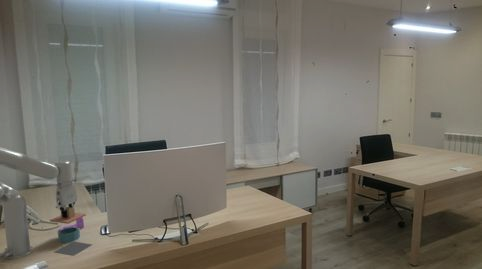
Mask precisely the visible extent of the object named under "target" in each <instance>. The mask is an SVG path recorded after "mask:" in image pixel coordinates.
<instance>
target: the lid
mask: <svg viewBox="0 0 482 269" xmlns="http://www.w3.org/2000/svg"><path fill="white" fill-rule="evenodd" d="M66 210H67V218H64V217H62V211H61V210H60V215H59V216H56V217H53V218H51V219H49V222H51V223H52V222H53V223H60V224H67V225H69V224H71V223H73V222H76V220H77V219H79V218H81V217H83V218H84V217H86V216H87V214H86V213H80V212H75V207H69V206H66Z"/></svg>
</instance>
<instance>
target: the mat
mask: <svg viewBox="0 0 482 269" xmlns="http://www.w3.org/2000/svg"><path fill="white" fill-rule="evenodd" d="M92 246H93V244H91V243H85V242H79V241H72V242H69V243H68V244H65V246H62V247H61V248H59V249H57V250H55V251H53V253H55V254H61V255H67V256H71V257H72V256H73V257H74V256H76V255H78V254H79V253H81V252H83V251H84V250H86V249H88V248H89V247H92Z"/></svg>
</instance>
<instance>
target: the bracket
mask: <svg viewBox="0 0 482 269" xmlns="http://www.w3.org/2000/svg"><path fill="white" fill-rule="evenodd" d="M75 222H76V223H75V224H71V225H65V226H61V227H59V228H58V230H59V231H60V230H62V229H64V228H68V227H78V228H82V229H84V228H85V224H84V217H81V218H79V219H77V220H75ZM83 227H84V228H83ZM59 231H58V232H59Z"/></svg>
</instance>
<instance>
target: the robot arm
mask: <svg viewBox="0 0 482 269" xmlns="http://www.w3.org/2000/svg"><path fill="white" fill-rule="evenodd" d="M0 166H1V167H5V168H9V169H11V170H15V171H17V172H22V173H25V174H28V175H32V176H35V177H38V178H42V179H46V180H54V179H55V180H56V184H55V186H56V188H55V189H56V191H55V200H56V202H55V203H56V205H55V209H57V210H60V212H61V211H62V217H64V218H67V210H66V207H73V208H75V204H76V202H77V201H78V196H77V191H76V187H75V184H74V183H73V174H72V164H71V162H70V160H60V161H55V162H54V161H53V162H52V161H51V162H49V161H48V162H44V161H41V160H38V159H35V158H34V157H31V156H29V155H27V154H25V153H22V152H19V151H17V150H16V151H15V150H12V149H10V148H6V147H4V146H0ZM27 204H28V202H27V199H26V197H25V196H24V195H23V194H22V193H21V192H20V191H19V190H17V189H15V188H13V187H10V186H9V185H7V184H5V183H4V182H1V181H0V206H2V209H3V222H4V228H5V229H4V231H5V239H6V248H4V251H2V252H1V253H0V259H1V258H3V257H4V259H6V260H14V259H19V258H23V257H26V256H28V255H29V256H30V254H32V253H33V252H34V250H35V248H34V246H32V245H31V243H30V234H29V233H30V231H29V222H28V211H27V209H28V207H27V206H28V205H27Z"/></svg>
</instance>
